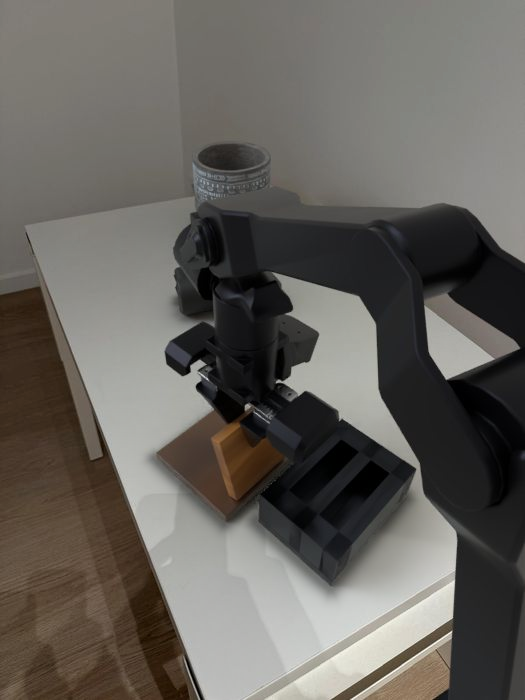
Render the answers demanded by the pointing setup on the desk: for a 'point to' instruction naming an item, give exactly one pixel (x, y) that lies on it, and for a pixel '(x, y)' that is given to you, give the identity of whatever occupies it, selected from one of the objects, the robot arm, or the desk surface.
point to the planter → (229, 169)
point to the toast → (242, 458)
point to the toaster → (335, 500)
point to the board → (208, 467)
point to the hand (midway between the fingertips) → (246, 437)
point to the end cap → (189, 295)
